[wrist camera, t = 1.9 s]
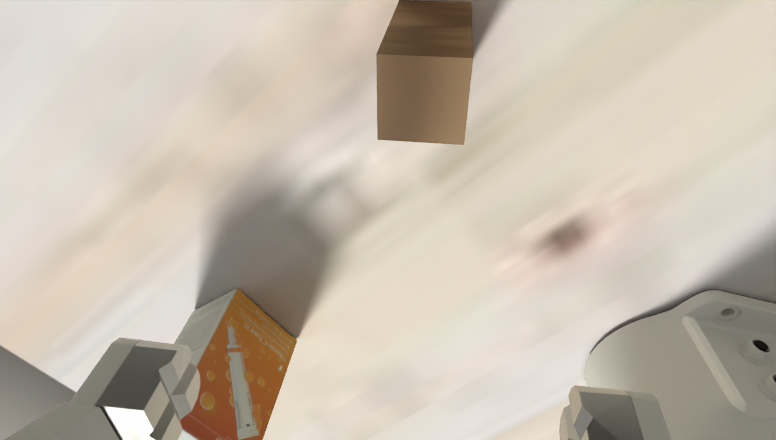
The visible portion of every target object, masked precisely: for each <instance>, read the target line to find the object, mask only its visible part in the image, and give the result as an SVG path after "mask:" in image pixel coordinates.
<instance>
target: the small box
mask: <svg viewBox="0 0 776 440" xmlns="http://www.w3.org/2000/svg"><path fill="white" fill-rule="evenodd" d="M296 342H297V340H296V339H295V338H294V337H292V336H291V335H290V334H289V333H287V332H286V331H285V330H284V329H283V328H282V327H281V326H279V325H278V324H277V323H276V322H275V321H274V320H273V319H272V318H270V317H269V316H268V315H267V314H266V313H265V312H264V311H262V310H261V309H260V308H259V307H258V306H257V305H256V304H255V303H254V302H253V301H251V300H250V299H249V298H248V297H247V296H246V295H245V294H244V293H243V292H242V291H241V290H240V289H239V288H236V289H234V290H232V291H230V292H228V293H226V294H224V295H223V296H221V297H219V298H217V299H215V300H213V301H211V302H209V303H207V304H206V305H204V306H202V307H200V308H198V309H196V310H195V311H194V312H193V313H192V314H191V316H190V318H189V319H188V321H187V323H186V324H185V326H184V328H183V330H182V331H181V333H180V335H179V336H178V338H177V340H176V341H175V343H174V344H177V345H185V346H189V348H190V350H191V352H192V355H193V356H192V358H191V360H190V363H191V364H193V365H194V366H195V367H196V368H198V371H199V374H200V389H199V394H198V398H197V401H196V403H195V405H194V407H193V409H192V411H191V412H190V413H188V414H187V415H186V416H184V417H183V418H182V419H180V420H181V425H182V429H183V430H182V432H181V434H180V436H179V439H178V440H262V439H263V436H264V433H265V431H266V428H267V425H268V422H269V419H270V416H271V414H272V411H273V408H274V405H275V402H276V399H277V397H278V394H279V391H280V388H281V385H282V383H283V380H284V377H285V374H286V371H287V368H288V365H289V362H290V359H291V356H292V354H293V351H294V348H295V345H296Z"/></svg>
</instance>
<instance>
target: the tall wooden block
mask: <svg viewBox="0 0 776 440" xmlns="http://www.w3.org/2000/svg"><path fill="white" fill-rule="evenodd" d="M472 62H473V44H472V7H471V3H468V2H437V1H406V0H399V3H398V5H397V7H396V10H395V12H394V14H393V17H392V19H391V21H390V24H389V26H388V28H387V31H386V33H385V36H384V38H383V40H382V43H381V45H380V47H379V50H378V52H377V125H378V140H393V141H410V142H426V143H443V144H459V145H464V139H465V130H466V120H467V110H468V101H469V91H470V81H471V72H472Z"/></svg>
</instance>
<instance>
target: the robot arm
mask: <svg viewBox="0 0 776 440" xmlns="http://www.w3.org/2000/svg"><path fill="white" fill-rule="evenodd" d="M192 356H193V355H192V352H191V350H190V348H189V346H185V345H177V344H169V343H160V342H152V341H144V340H137V339H127V338H119V339H117V340H116V341H114V342H113V343H112V344H111V345H110V346H109V348H108V349H107V351H106V352H105V353H104V355H103V356H102V358H101V359H100V361H99V362H98V363H97V365H96V366H95V368H94V369H93V370H92V372H91V373H90V375H89V376H88V377H87V379H86V380H85V382H84V383H83V384H82V386H81V387H80V389H79V390H78V392H77V393H76V395H75V396H74V397H73V399H72V400H71V401H70V403H61V404H60V405H58V406H57V407H55V408H53V409H52V410H50V411H49V412H47V413H46V414H44V415H42V416H41V417H40V418H38V419H36V420H35V421H33V422H31V423H30V424H28V425H27V426H25V427H24V428H22V429H20V430H19V431H17V432H16V433H14V434H13V435H11V436H10V437H8V438H6V439H5V440H178V439H179V436H180V434H181V432H182V430H183V429H182V425H181V420H180V419H182V418H183V417H184V416H186V415H187V414H188V413H190V412H191V411H192V409H193V407H194V405H195V403H196V401H197V398H198V394H199V389H200V374H199V371H198V368H196V367H195V366H194V365H193V364H191V363H190V360H191V358H192ZM584 373H585V381H586V384H587V386H588V387H585V386H574V387H572V388H571V391H570V393H569V401H570V405H569V406H567V407H565V408H564V409H563V412H562V415H561V419H560V430H559V433H560V440H776V304H774V303H770V302H766V301H762V300H757V299H753V298H749V297H744V296H740V295H736V294H732V293H727V292H723V291H718V290H709V291H705V292H702V293H699V294H697V295H695V296H693V297H691V298H690V299H688V300H686V301H684V302H683V303H681V304H680V305H678V306H677V307H675V308H673V309H671V310H669V311H666V312H663V313H660V314H657V315H653V316H650V317H646V318H643V319H640V320H637V321H635V322H632V323H630V324H628V325H626V326H624V327H622V328H620V329H618V330H616V331H615V332H613V333H612V334H610V335H609V336H607V337H606V338H605V339H603V340H602V341H601V342H600V343H599V344H598V345H597V346H596V347H595V349H594V350H593V351H592V352H591V354H590V356H589V357H588V360H587V362H586V365H585V372H584Z"/></svg>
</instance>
